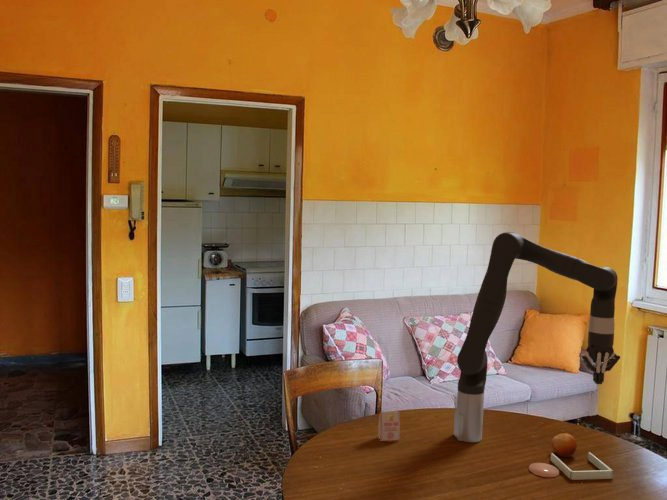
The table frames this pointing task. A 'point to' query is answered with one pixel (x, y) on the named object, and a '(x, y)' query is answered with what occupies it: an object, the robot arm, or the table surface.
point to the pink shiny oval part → (544, 470)
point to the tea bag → (389, 426)
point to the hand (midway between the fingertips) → (598, 383)
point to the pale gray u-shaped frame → (579, 475)
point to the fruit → (564, 445)
